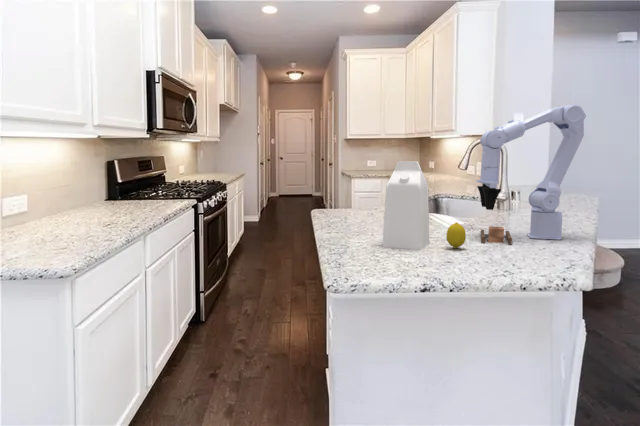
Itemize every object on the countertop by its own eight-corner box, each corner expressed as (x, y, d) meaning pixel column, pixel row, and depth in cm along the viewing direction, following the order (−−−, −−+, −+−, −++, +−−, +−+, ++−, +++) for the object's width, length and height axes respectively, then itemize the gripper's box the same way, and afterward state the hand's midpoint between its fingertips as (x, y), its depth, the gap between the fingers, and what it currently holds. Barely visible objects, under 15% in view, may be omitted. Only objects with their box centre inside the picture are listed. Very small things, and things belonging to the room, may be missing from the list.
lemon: (466, 251, 142) (467, 224, 141) (446, 250, 143) (447, 223, 142) (464, 247, 147) (465, 221, 146) (445, 246, 148) (446, 220, 147)
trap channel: (508, 235, 165) (508, 230, 165) (511, 244, 150) (512, 238, 150) (480, 234, 168) (480, 229, 167) (481, 243, 153) (481, 236, 153)
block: (502, 240, 158) (503, 226, 157) (503, 243, 153) (504, 229, 153) (488, 239, 159) (488, 226, 158) (488, 242, 155) (489, 228, 154)
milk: (429, 243, 154) (431, 161, 150) (420, 250, 144) (423, 162, 140) (392, 240, 159) (394, 160, 155) (382, 246, 149) (383, 161, 145)
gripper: (474, 166, 167) (471, 205, 169) (481, 167, 153) (478, 210, 154) (495, 166, 166) (492, 206, 168) (504, 168, 152) (501, 211, 153)
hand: (487, 208), depth 161 cm, fingers open, 7 cm apart
